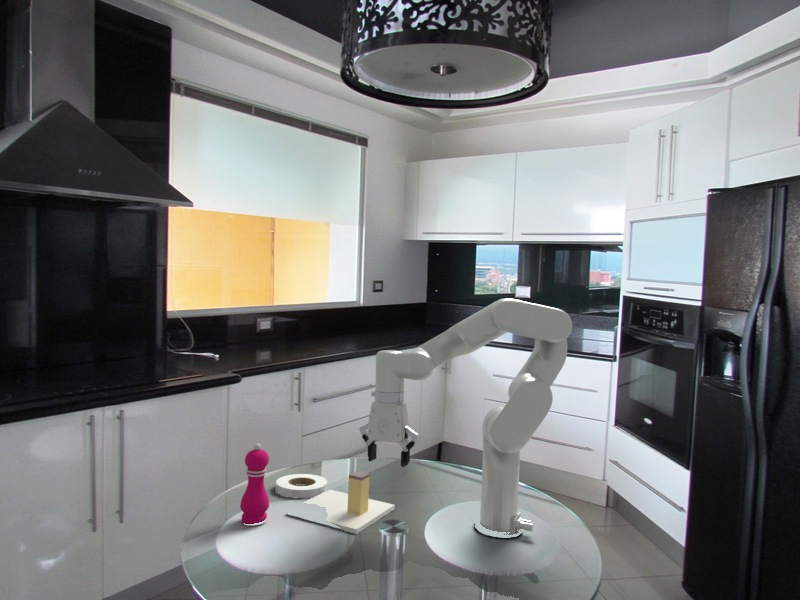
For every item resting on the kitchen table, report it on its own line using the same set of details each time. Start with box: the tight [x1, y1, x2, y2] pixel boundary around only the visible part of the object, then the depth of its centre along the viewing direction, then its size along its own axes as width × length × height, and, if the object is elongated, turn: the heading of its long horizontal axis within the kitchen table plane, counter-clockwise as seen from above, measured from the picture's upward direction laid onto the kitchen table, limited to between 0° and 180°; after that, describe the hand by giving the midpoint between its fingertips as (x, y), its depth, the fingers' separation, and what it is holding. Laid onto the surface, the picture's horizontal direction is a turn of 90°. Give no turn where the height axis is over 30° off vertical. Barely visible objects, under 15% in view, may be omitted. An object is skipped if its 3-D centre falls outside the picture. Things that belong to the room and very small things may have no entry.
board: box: [302, 489, 395, 535], centre depth 149 cm, size 22×20×1 cm
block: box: [347, 470, 370, 515], centre depth 146 cm, size 4×4×10 cm
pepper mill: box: [239, 443, 270, 524], centre depth 140 cm, size 7×7×20 cm
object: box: [275, 473, 328, 499], centre depth 165 cm, size 16×15×3 cm
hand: (388, 462), depth 143 cm, fingers open, 9 cm apart
